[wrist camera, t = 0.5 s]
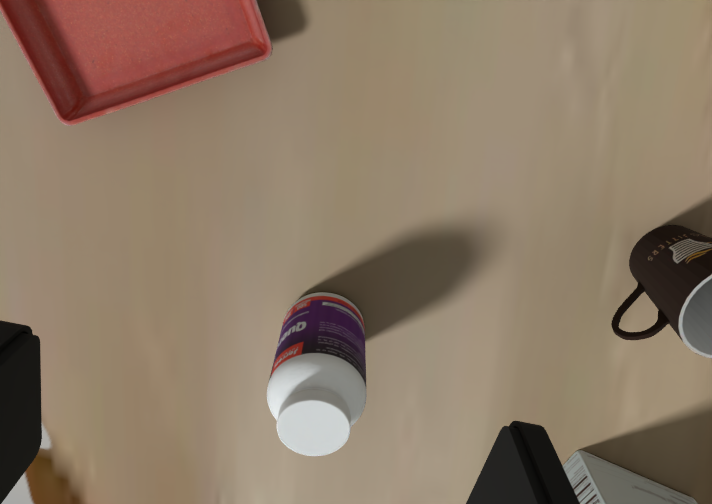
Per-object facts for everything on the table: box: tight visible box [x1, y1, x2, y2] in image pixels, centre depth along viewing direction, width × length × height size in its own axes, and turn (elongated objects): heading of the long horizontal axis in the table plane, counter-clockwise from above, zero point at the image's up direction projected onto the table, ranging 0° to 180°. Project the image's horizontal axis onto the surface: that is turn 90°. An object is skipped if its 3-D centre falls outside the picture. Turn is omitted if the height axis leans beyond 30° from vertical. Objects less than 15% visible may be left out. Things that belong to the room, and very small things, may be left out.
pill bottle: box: [267, 292, 366, 456], centre depth 44 cm, size 8×8×14 cm
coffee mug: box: [612, 225, 712, 358], centre depth 43 cm, size 12×9×10 cm
